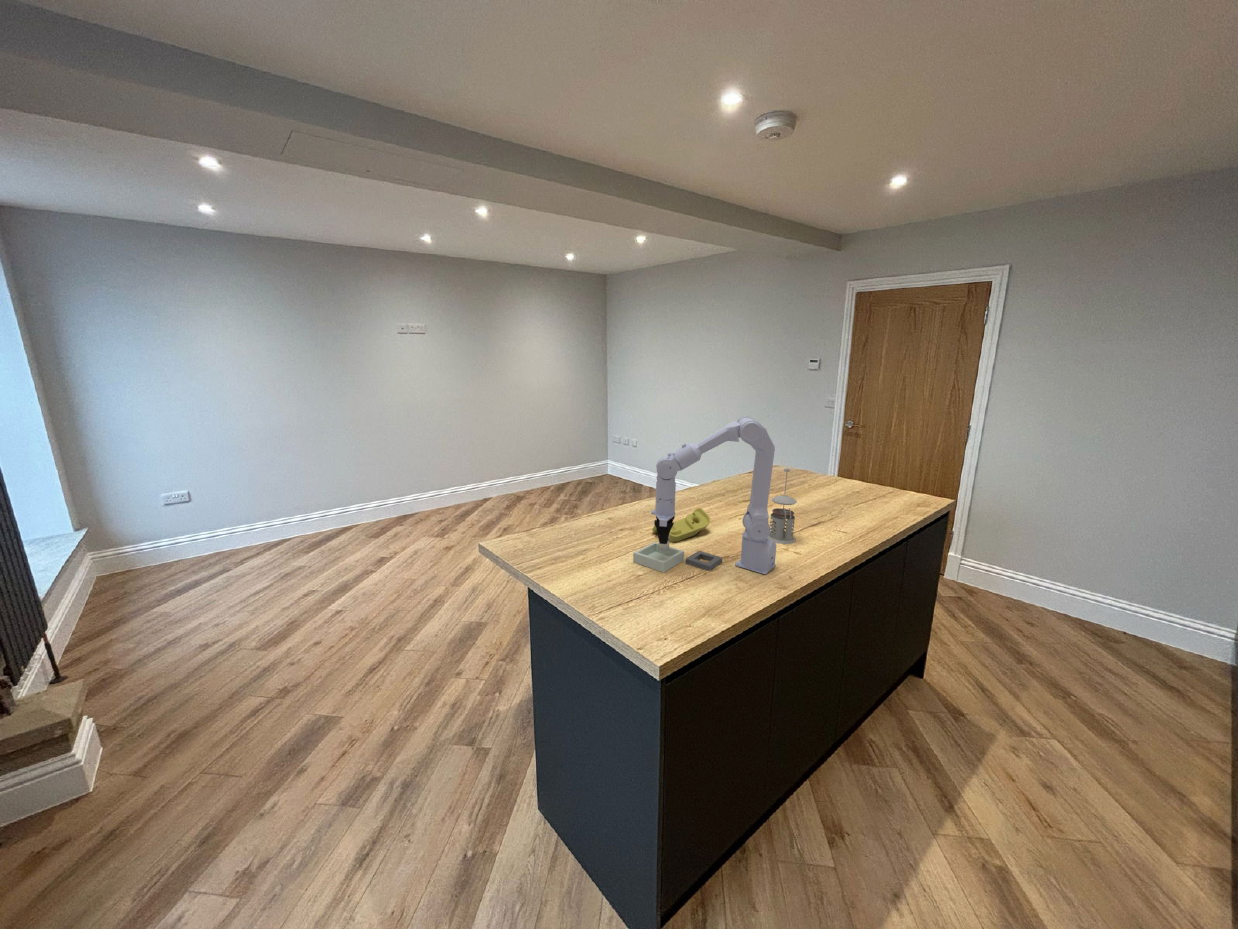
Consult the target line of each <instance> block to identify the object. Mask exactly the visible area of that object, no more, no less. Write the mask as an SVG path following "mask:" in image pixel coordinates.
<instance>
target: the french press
mask: <svg viewBox="0 0 1238 929" xmlns="http://www.w3.org/2000/svg"><path fill="white" fill-rule="evenodd" d="M783 471H784V472H786V474H785V482H787V481H788V480H787V479H788V473H790V472H791V469H790V468H789V467H785V468H784V469H783ZM784 485H785V487H784V495H783V494H782V495H781V494H780V495H776V496H774V497H772V498H771V501H772V502H773V503H774V504H777V505H783V507H782V508H781V507H780V508H774V509H772V513H770V521H769V523H770V524H769V526H770V535H769V536H768V539H769V540H771V541H773V542H775V543H776V544H781V545H791V544H794V543H796V538H795V537H794V530H795V529H794V528H795V521H796V517H795V512H794V511H793V510H791V508H790V507H789V508H788V509H787V508H785V506H792V505H796V504H797V503H798V501H797V500H796V498H794V497H791V496H789V495H786V492H787V491H786V490H787V483H785V484H784Z"/></svg>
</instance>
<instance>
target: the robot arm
mask: <svg viewBox="0 0 1238 929" xmlns="http://www.w3.org/2000/svg"><path fill="white" fill-rule="evenodd" d="M739 438H740V439H739ZM740 440H742V441H743V442H744V443H746V444H748V445H749V446H751V448H752V449H753V450H754V451H755V453H754V454H755V455H754V463H753V473H752V479H751V489H750V498H749V503H748V505H747V507H746V508H747V509H746V511H745V514H744V515H743V517H742V525H743V527H744V531H743V532H742V537H741V548H740V549H741V550H740V551H741V552H740V559H739V560H738V561H736V562H735V564H734V566H736V567H739V568H743V569H745V570H749V571H753V572H756V573H759V574H762V575H766V574H768V573H769V572H771V570H773V569H774V568H775V567H776V554H777V543H775V542H773V541H771V540H769V539H768V536H769V535H770V531H771V530H770V528H771V526H770V524H769V519H770V518H769V511H768V505H769V497H770V496H769V495H770V489H771V480H772V474H773V472H772V471H773V466H774V459H775V458H774V457H775V450H776V449H775V444H774V443H773V440H772V439H771V437H770V435H769V433H768V430H767V428H765V427H764V426H763V425H762V424H761V423H760V422H759V421H757V420H755V419H754V418H752V417H749V416H742V417H740V418H738V419H737V420H734V421H731V422H730V423H727V424H726V425H724V426H723V427H721V428H720V429H718V430H717V431H714V432H713V433H712V434H710V435H709V436H706V437H705V438H704V439H702V440H700V441H699V442H698V443H693V442H689V443H686V442H684V443H683V444H681V447H680V448H678V449H676V450H675V451H673V452H668V453H667V456H662V457H660V458H659V459H658V461H657V462H656V465H655V467H656V472H657V475H656V483H655V509H652V510H651V511H650V513H651V515H655V520H654V521H653V522H654V523H653V524H654V525H655V526H656V529H657V531H658V533H657V535H658V537H659V542H660V544H667V542H668V538H669V533H670V530H671V528H672V527H673V525H674V522H675V521H674V520H675V516H676V511H675V510H676V490H677V489H676V487H677V485H676V476H677V475H678V472H681V471H683V470H685V469H687V468H689V467H690V466H692V465H694V464H695V463H697V462H699V461H700V460H701V458H702V454H705V453H707V452H708V451H710V450H712V449H714V448H716V447H719V446H720V445H722V444H724V443H726V442H735V443H736V442H737V443H738V442H740Z"/></svg>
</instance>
